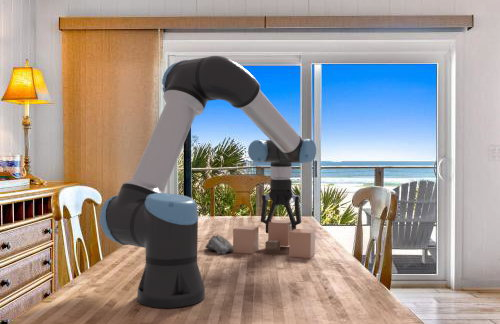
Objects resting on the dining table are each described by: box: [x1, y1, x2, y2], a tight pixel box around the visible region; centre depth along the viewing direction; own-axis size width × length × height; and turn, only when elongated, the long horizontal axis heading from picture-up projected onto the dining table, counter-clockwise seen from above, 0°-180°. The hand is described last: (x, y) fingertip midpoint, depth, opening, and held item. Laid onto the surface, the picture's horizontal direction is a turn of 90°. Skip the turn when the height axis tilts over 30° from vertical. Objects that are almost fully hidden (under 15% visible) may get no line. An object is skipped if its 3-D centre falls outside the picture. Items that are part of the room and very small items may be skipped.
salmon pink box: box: [288, 228, 316, 259], centre depth 154 cm, size 7×7×8 cm
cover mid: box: [269, 219, 292, 247], centre depth 167 cm, size 7×7×8 cm
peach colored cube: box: [232, 225, 260, 255], centre depth 160 cm, size 7×7×8 cm
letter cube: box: [264, 239, 281, 256], centre depth 157 cm, size 4×4×4 cm
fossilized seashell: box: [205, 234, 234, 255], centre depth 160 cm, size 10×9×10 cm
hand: (280, 243), depth 167 cm, fingers closed on cover mid, 7 cm apart
